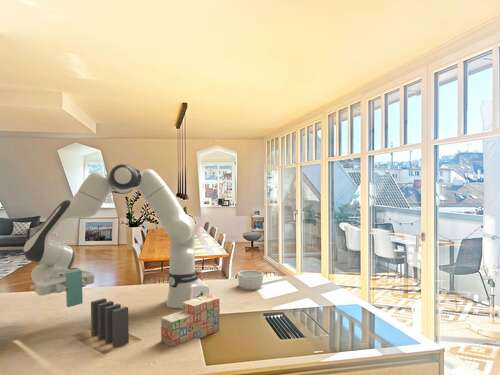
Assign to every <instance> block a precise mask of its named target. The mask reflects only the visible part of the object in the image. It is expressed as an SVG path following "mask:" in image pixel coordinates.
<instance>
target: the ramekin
mask: <svg viewBox="0 0 500 375" xmlns="http://www.w3.org/2000/svg"><path fill="white" fill-rule="evenodd" d="M263 280H264V272H263V271H262V270H261V271H260V270H253V269H248V270H247V269H246V270H240V271H239V272H238V273H237V281H238V286H239V287H240V288H241V289H243V290H249V291H251V290H253V291H254V290H257V289H260V288H261V287H262V285H263Z"/></svg>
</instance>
